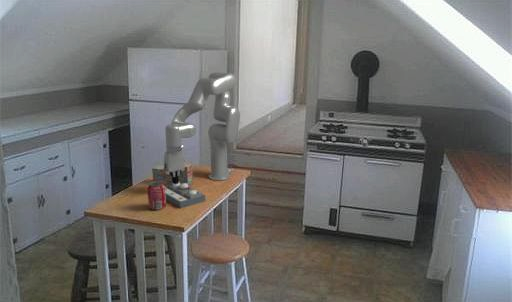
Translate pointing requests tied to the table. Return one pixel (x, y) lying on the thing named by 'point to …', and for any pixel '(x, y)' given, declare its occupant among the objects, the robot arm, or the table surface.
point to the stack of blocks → (167, 178)
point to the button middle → (183, 186)
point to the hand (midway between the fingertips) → (175, 183)
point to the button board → (182, 196)
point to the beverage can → (156, 195)
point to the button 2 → (192, 192)
